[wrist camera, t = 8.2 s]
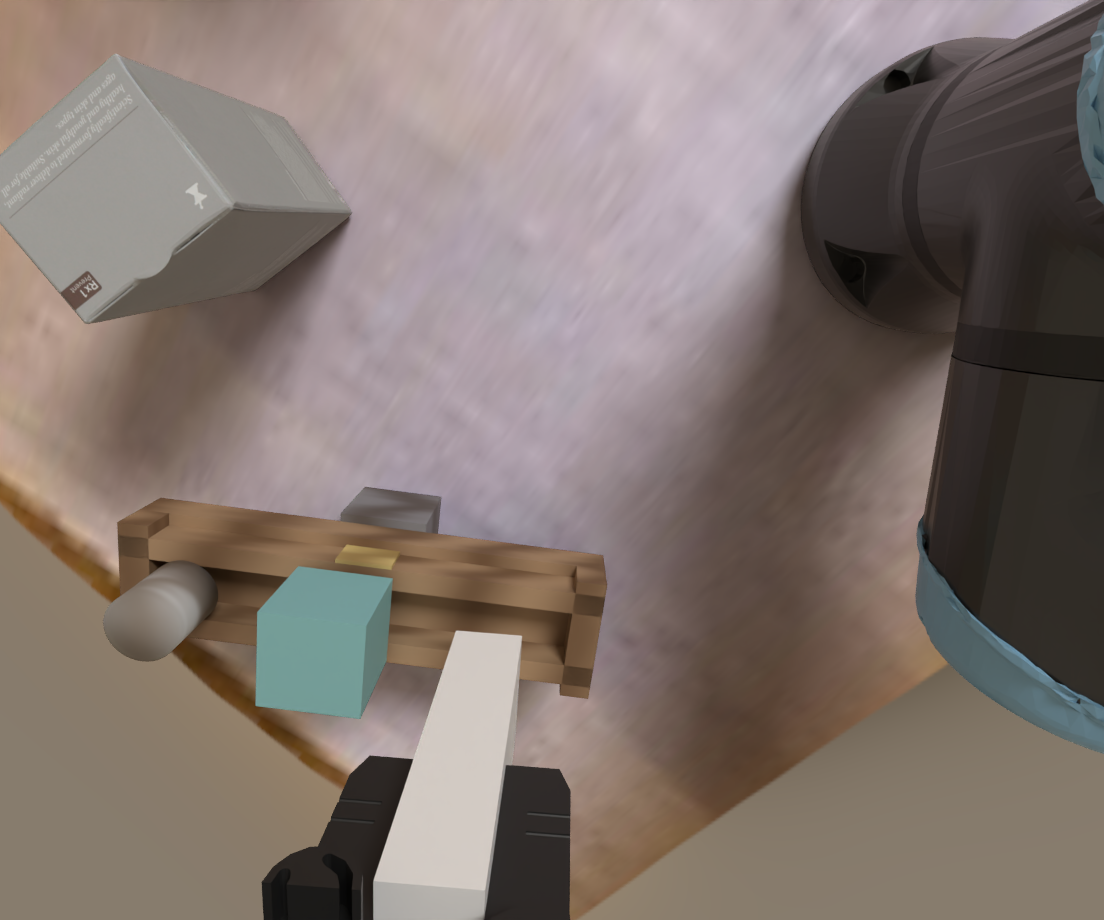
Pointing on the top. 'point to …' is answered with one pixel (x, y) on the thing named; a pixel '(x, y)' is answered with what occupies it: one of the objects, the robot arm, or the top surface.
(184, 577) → the beam
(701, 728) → the top surface
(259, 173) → the skincare box
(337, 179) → the top surface
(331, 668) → the block
